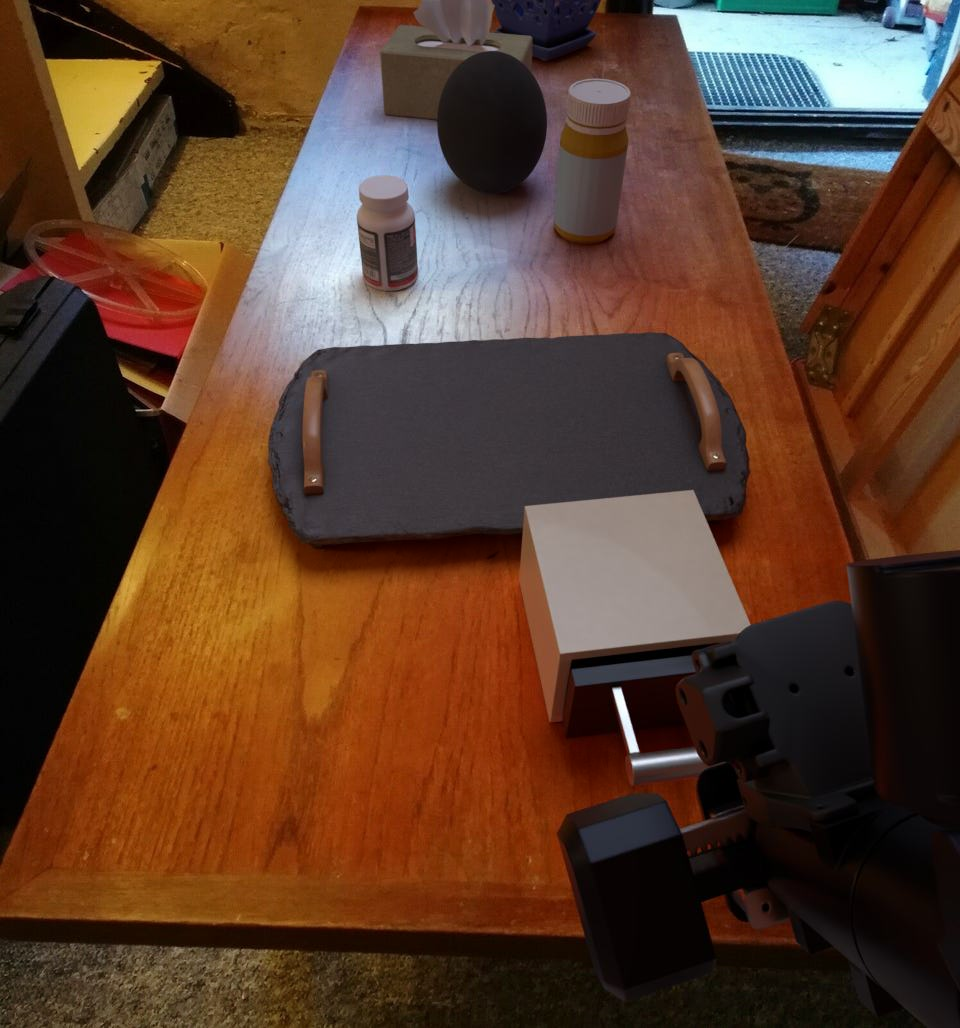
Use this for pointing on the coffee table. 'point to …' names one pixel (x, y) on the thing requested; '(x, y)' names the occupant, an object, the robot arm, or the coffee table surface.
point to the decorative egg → (492, 122)
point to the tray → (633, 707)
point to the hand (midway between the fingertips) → (731, 777)
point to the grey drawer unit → (621, 582)
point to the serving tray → (497, 434)
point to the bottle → (591, 161)
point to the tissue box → (439, 53)
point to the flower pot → (548, 23)
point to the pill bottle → (387, 233)
